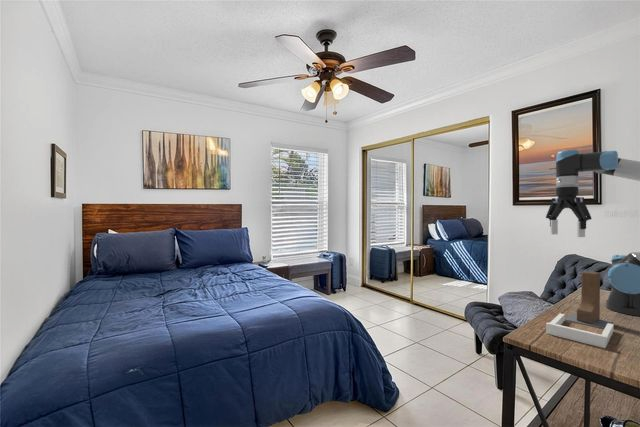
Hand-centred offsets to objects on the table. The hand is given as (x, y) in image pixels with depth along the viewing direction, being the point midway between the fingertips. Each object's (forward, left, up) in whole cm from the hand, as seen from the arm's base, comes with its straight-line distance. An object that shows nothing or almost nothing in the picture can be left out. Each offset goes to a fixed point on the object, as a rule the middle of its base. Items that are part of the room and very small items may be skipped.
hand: (566, 235), depth 132 cm
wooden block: (+5, +17, -31) cm, 35 cm away
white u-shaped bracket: (+16, +27, -31) cm, 44 cm away
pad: (+5, +17, -31) cm, 36 cm away
